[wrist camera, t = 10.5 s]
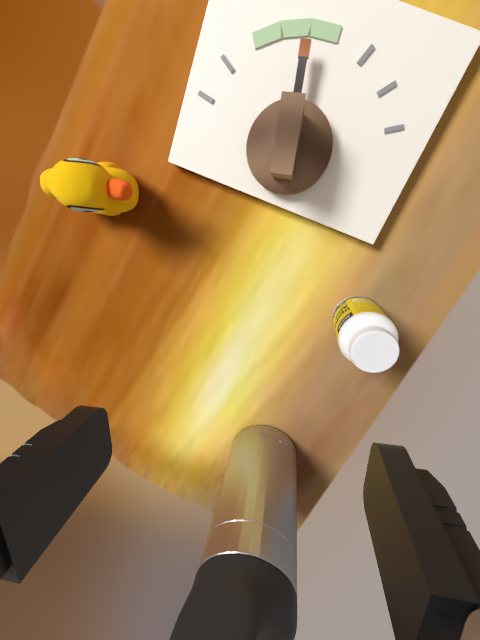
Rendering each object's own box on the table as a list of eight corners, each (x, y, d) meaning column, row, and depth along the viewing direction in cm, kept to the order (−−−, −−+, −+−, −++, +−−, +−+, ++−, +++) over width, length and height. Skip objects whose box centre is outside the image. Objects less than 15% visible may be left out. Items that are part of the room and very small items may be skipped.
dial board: (369, 243, 33) (373, 244, 31) (173, 163, 33) (167, 161, 32) (475, 42, 26) (487, 31, 25) (228, -50, 27) (224, -67, 25)
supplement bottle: (337, 290, 35) (352, 317, 26) (386, 299, 34) (419, 330, 25) (325, 334, 37) (335, 373, 27) (372, 343, 36) (398, 386, 27)
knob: (321, 200, 30) (327, 196, 25) (243, 189, 31) (231, 183, 26) (351, 52, 26) (367, 6, 21) (260, 45, 27) (251, -1, 22)
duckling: (167, 170, 34) (117, 152, 24) (166, 220, 36) (119, 222, 26) (73, 161, 35) (-7, 141, 26) (77, 210, 37) (3, 208, 28)
